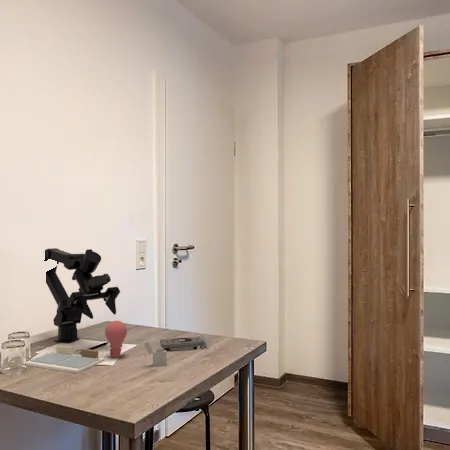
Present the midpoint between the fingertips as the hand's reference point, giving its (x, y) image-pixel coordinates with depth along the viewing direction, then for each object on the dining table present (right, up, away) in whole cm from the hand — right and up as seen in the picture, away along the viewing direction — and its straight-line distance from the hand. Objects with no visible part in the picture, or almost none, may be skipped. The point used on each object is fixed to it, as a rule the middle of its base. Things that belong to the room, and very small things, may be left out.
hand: (104, 315), depth 156 cm
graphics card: (+27, -13, +8) cm, 31 cm away
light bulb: (+5, -13, -4) cm, 15 cm away
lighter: (+20, -13, -14) cm, 27 cm away
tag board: (-10, -13, -11) cm, 20 cm away
